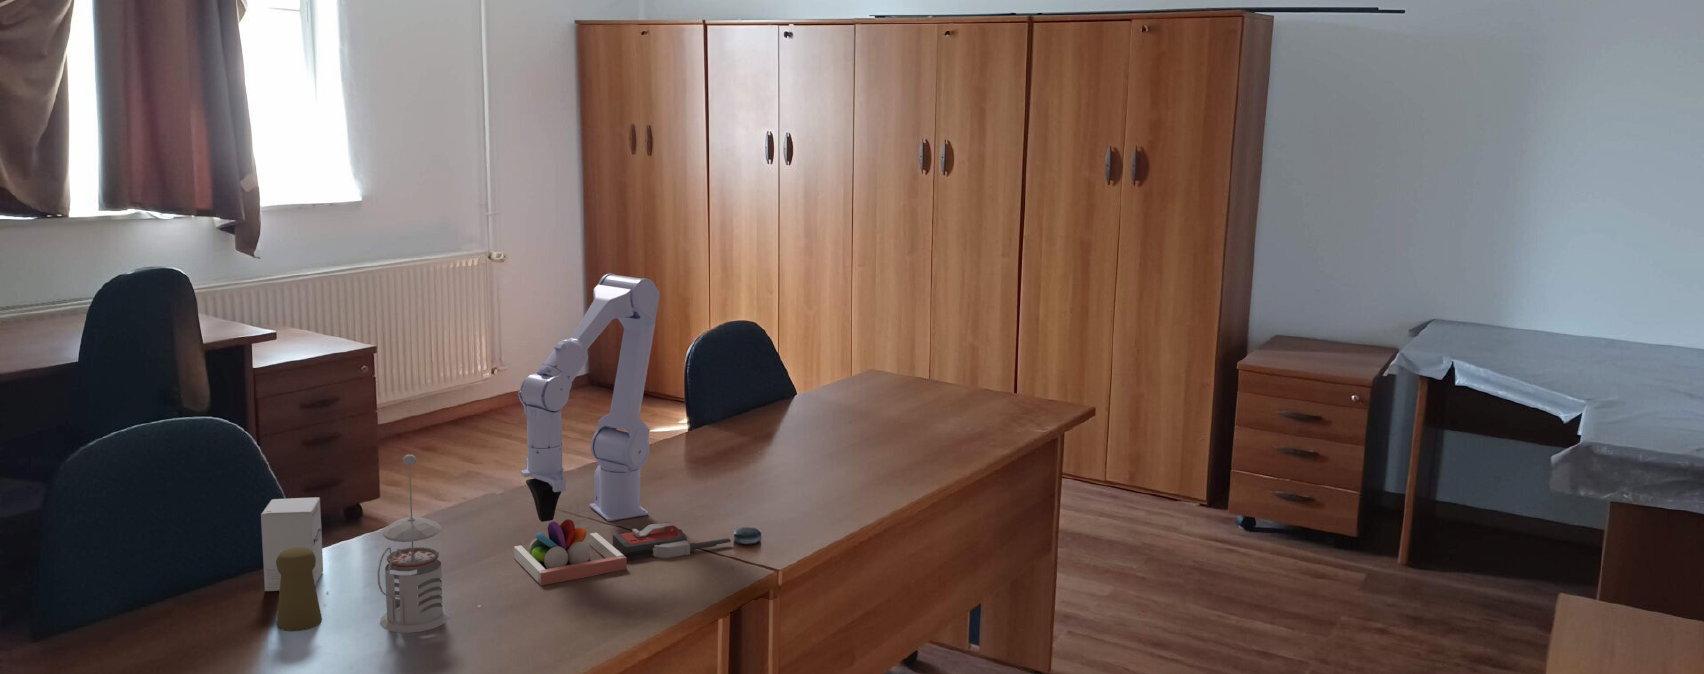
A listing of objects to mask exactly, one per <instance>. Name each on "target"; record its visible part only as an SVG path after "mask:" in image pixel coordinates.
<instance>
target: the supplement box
mask: <svg viewBox="0 0 1704 674" xmlns="http://www.w3.org/2000/svg"><path fill="white" fill-rule="evenodd" d="M321 516H322V515H321V498H320V497H295V498H293V497H291V498H274V499H273V498H272V499H270V501H269V502H268V503H267V505H266V507H265V508H264V510H263V511H262V512H261V513H260V526H261V541H262V545H261V546H262V559H263V560H262V562H263V581H264V591H265V592H275V591H276V592H278V591H279V592H280V580H281V574H280V573H279V572H278V569H277V567H276V560H277V557H278V555H279V554H280V553H281V552H282V551H284V550H286V549H290V548H295V547H304V548H308V549H310V550H312V551H313V553H314V554H315V557H316V564H315V567H314V569H313V570H312V573H313V578H314V582H315V587H316V586H317V583H318V581H319V579H320V578H321V576H322V574H323V573H324V563H323V561H324V560H323V559H324V558H323V557H324V556H323V537H322V535H323V534H322V533H323V531H322V519H321V518H322V517H321Z"/></svg>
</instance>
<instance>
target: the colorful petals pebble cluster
mask: <svg viewBox="0 0 1704 674" xmlns="http://www.w3.org/2000/svg"><path fill="white" fill-rule="evenodd" d="M547 534H548V537H547V536H546V535H544V533H542V532H537V533H536V534H535V539H533V540H532V541H531V543H530V544H529V546H528V553H529V554H530V555H532V557H534V558H535V559H536V560H537V561H538V562H543V563H544V566H545V567H546V569H551V568H556V567H562V566H567V565H568V562H569V564H570V565H573V564H578V563H584V562H589V559H590V557H591V548H590V546H589V545H588V543H586V542H584V540H585V539H586V536H587V530H586V529H585V528H584V527H575V523H574V521H573V520H572V519H565V520H563V521H562V522H561V523H560V524H559V523H558V522H557V521H553V520H552V521H549V523H548V525H547Z"/></svg>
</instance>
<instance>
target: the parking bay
mask: <svg viewBox="0 0 1704 674" xmlns="http://www.w3.org/2000/svg"><path fill="white" fill-rule="evenodd" d="M589 545H590V546H591V547H592V548H593V549H594V550H595V551H596V552H597V553H598V554H600V555H602V557H603V558H601V559H597V560H596V559H595V560H591V561H589V560H588V561H587V562H584V563H578V564H573V565H572V564H566V565H565V566H562V567H556V568H551V569H548V568H545V567H544V566H543V565H542V564H541V563H540V561H537V560H536V559H535V558H534V557H532V555H530V554H529V551H527V550H526V548H524V547H523V546H522V545H515V546H513V557H514V559H515V560H516V561H517V563H519V564H520V565H521V566H522V567H523V569H524V570H525V571H526V572H528V573H529V574H530V576H531V577H532V578H533V579H534V580H535V581H536V582H537V583H538V584H539V585H540V586H544V585H545V586H546V585H549V584H555V583H560V582H561V583H562V582H565V581H571V580H576V579H581V578H586V577H593V576H598V575H603V574H608V573H613V572H618V571H624V570H627V564H628V563H627V561H628V560H627V557H625V556H624V555H623V554H622V553H621V552H619V551H618V550H617V549H616V548H614V547H613V544H611V543H610V542H609V541H608V540H606V539H605V538H604V537H603V536H602V535H600V534H599V533H598V532H592V533H589Z"/></svg>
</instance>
